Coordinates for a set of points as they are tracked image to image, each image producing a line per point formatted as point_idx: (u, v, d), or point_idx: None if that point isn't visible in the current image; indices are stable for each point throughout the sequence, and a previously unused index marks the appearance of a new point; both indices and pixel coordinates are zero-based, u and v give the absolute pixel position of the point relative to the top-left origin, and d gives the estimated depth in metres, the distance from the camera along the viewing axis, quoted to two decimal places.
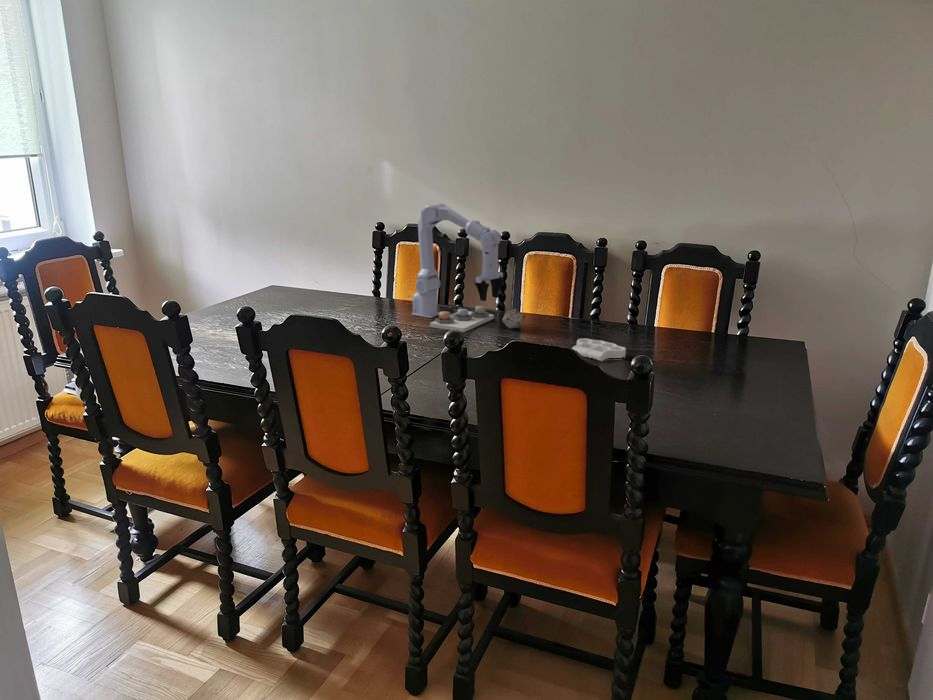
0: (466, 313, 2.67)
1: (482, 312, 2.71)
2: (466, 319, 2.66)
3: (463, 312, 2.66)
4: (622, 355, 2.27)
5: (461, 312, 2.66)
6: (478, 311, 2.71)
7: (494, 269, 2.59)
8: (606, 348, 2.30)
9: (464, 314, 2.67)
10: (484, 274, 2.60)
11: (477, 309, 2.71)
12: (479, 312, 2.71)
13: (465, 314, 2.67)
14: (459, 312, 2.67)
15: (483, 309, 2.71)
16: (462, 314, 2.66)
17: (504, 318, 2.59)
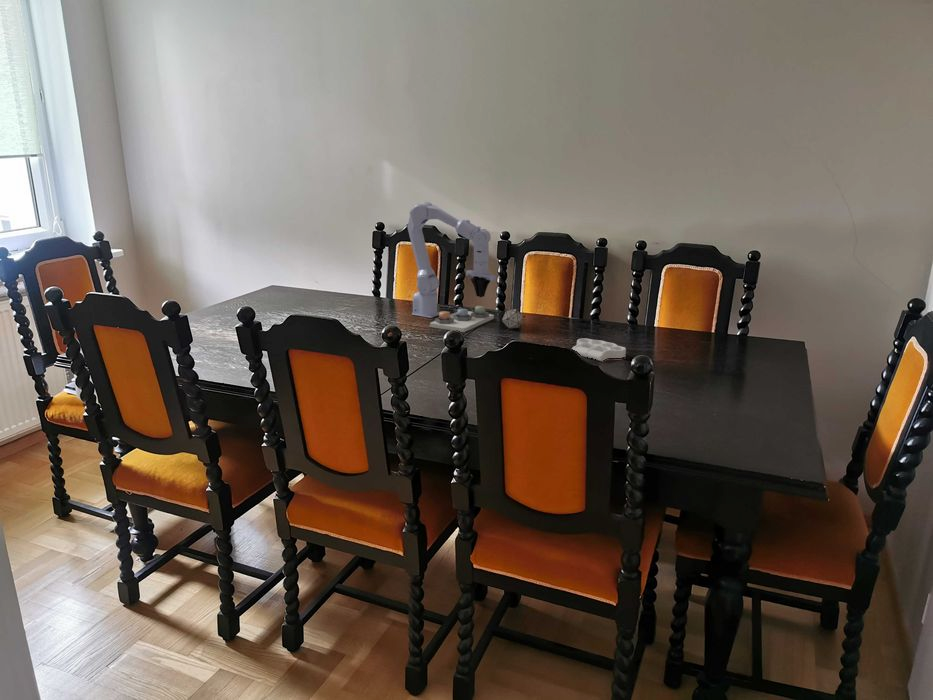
0: (466, 313, 2.67)
1: (482, 312, 2.71)
2: (466, 319, 2.66)
3: (463, 312, 2.66)
4: (622, 355, 2.27)
5: (461, 312, 2.66)
6: (478, 311, 2.71)
7: (474, 266, 2.67)
8: (606, 348, 2.30)
9: (464, 314, 2.67)
10: None
11: (477, 309, 2.71)
12: (479, 312, 2.71)
13: (465, 314, 2.67)
14: (459, 312, 2.67)
15: (483, 309, 2.71)
16: (462, 314, 2.66)
17: (504, 318, 2.59)
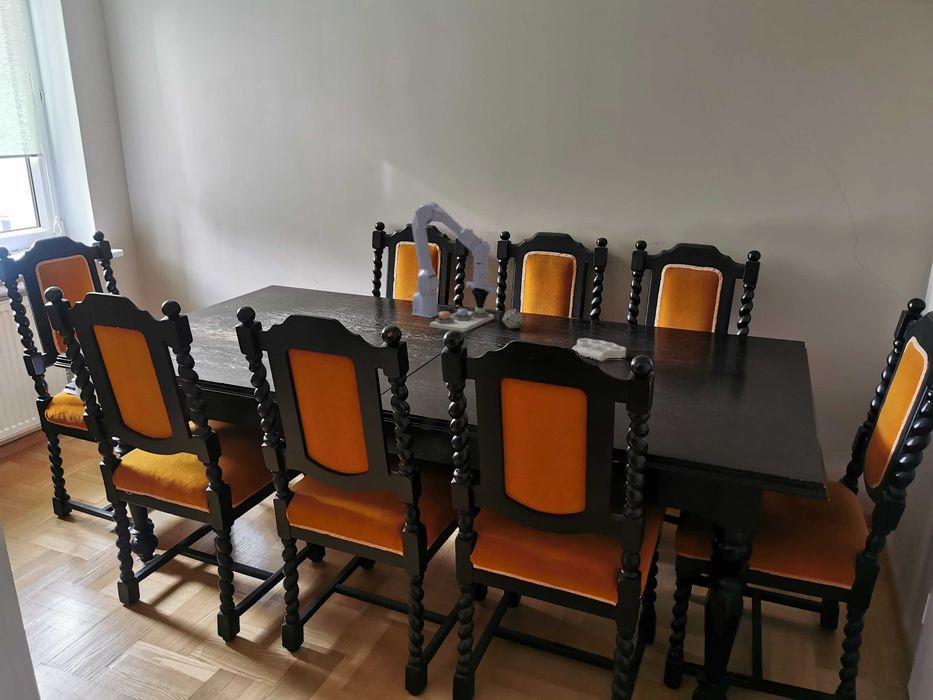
0: (466, 313, 2.67)
1: (482, 313, 2.71)
2: (466, 319, 2.66)
3: (463, 312, 2.66)
4: (622, 355, 2.27)
5: (461, 312, 2.66)
6: (478, 311, 2.71)
7: (474, 278, 2.68)
8: (606, 348, 2.30)
9: (464, 314, 2.67)
10: None
11: (477, 310, 2.71)
12: (479, 313, 2.71)
13: (465, 314, 2.67)
14: (459, 312, 2.67)
15: (483, 310, 2.71)
16: (462, 314, 2.66)
17: (504, 318, 2.59)
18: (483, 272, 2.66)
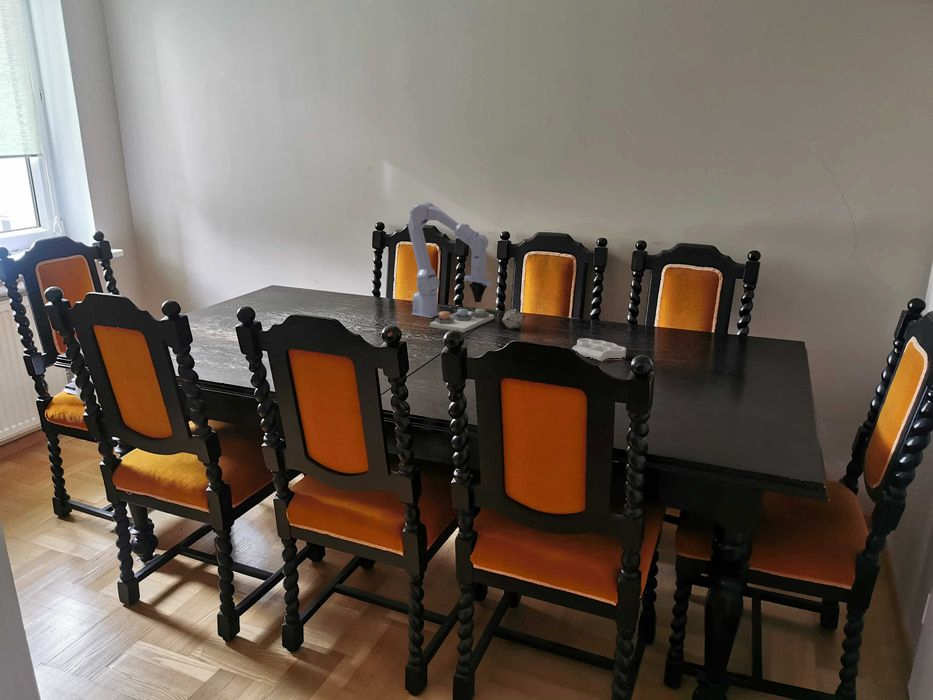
0: (466, 313, 2.67)
1: None
2: (466, 319, 2.66)
3: (463, 312, 2.66)
4: (622, 355, 2.27)
5: (461, 312, 2.66)
6: (478, 314, 2.71)
7: (471, 272, 2.67)
8: (606, 348, 2.30)
9: (464, 314, 2.67)
10: None
11: (477, 312, 2.71)
12: None
13: (465, 314, 2.67)
14: (459, 312, 2.67)
15: (483, 312, 2.71)
16: (462, 314, 2.66)
17: (504, 318, 2.59)
18: (480, 266, 2.64)
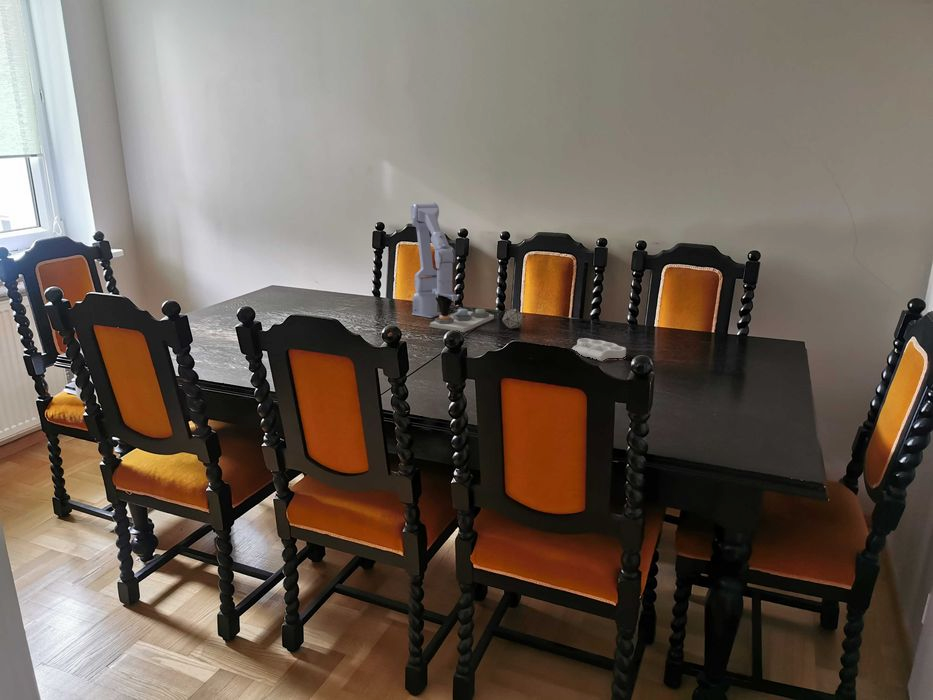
0: (466, 313, 2.67)
1: None
2: (466, 319, 2.66)
3: (463, 312, 2.66)
4: (622, 355, 2.27)
5: (461, 312, 2.66)
6: (478, 314, 2.71)
7: (437, 285, 2.59)
8: (606, 348, 2.30)
9: (464, 314, 2.67)
10: None
11: (477, 312, 2.71)
12: None
13: (465, 314, 2.67)
14: (459, 312, 2.67)
15: (483, 312, 2.71)
16: (462, 314, 2.66)
17: (504, 318, 2.59)
18: (440, 279, 2.57)
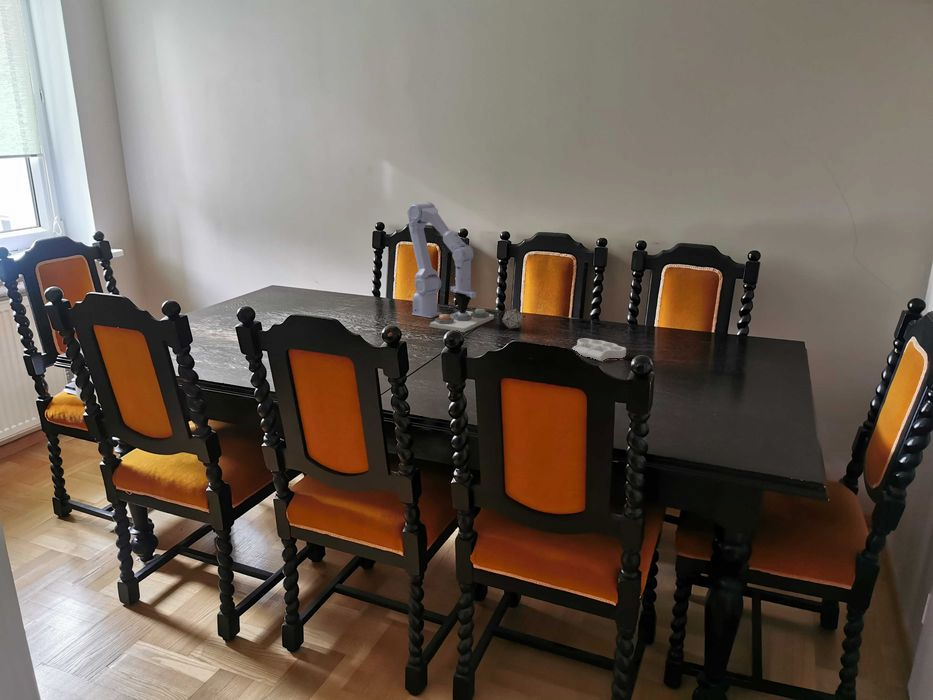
0: (466, 316, 2.67)
1: None
2: (466, 319, 2.66)
3: (463, 315, 2.66)
4: (622, 355, 2.27)
5: (461, 315, 2.67)
6: (478, 314, 2.71)
7: None
8: (606, 348, 2.30)
9: None
10: None
11: (477, 312, 2.71)
12: None
13: None
14: (459, 315, 2.67)
15: (483, 312, 2.71)
16: None
17: (504, 318, 2.59)
18: (462, 277, 2.61)
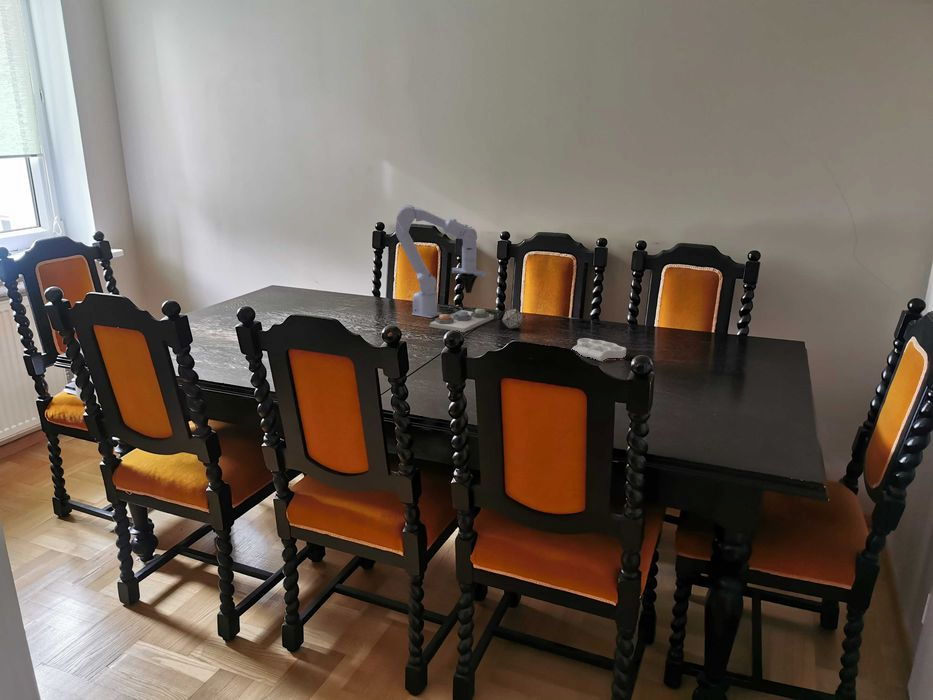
0: (466, 316, 2.67)
1: None
2: (466, 319, 2.66)
3: (463, 315, 2.66)
4: (622, 355, 2.27)
5: (461, 315, 2.66)
6: (478, 314, 2.71)
7: (463, 264, 2.72)
8: (606, 348, 2.30)
9: None
10: None
11: (477, 312, 2.71)
12: None
13: None
14: (459, 315, 2.67)
15: (483, 312, 2.71)
16: None
17: (504, 318, 2.59)
18: (473, 257, 2.71)
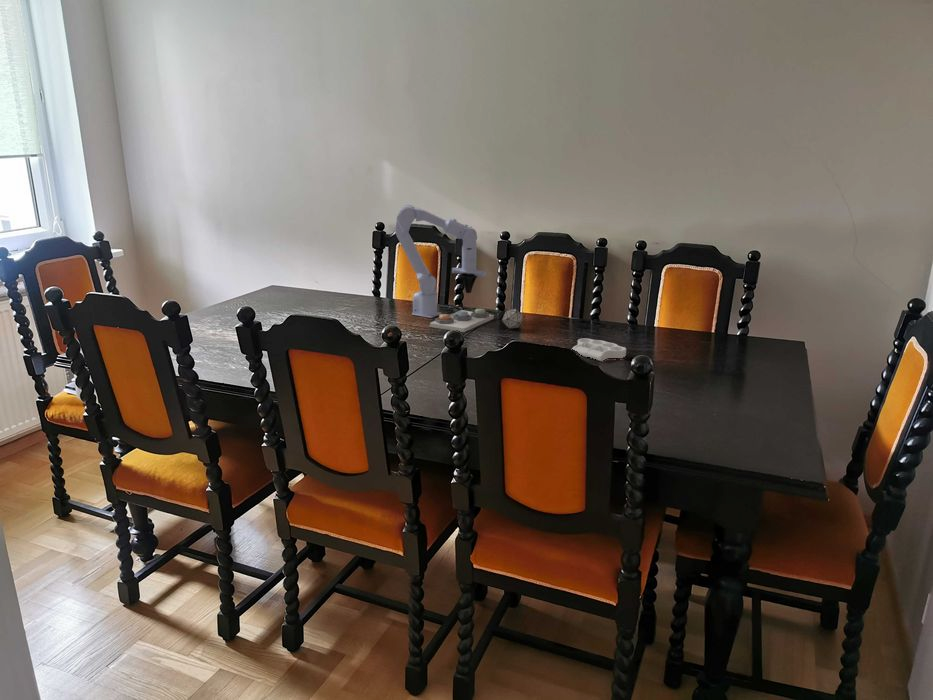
0: (466, 316, 2.67)
1: None
2: (466, 319, 2.66)
3: (463, 315, 2.66)
4: (622, 355, 2.27)
5: (461, 315, 2.66)
6: (478, 314, 2.71)
7: (463, 264, 2.72)
8: (606, 348, 2.30)
9: None
10: None
11: (477, 312, 2.71)
12: None
13: None
14: (459, 315, 2.67)
15: (483, 312, 2.71)
16: None
17: (504, 318, 2.59)
18: (473, 257, 2.71)
